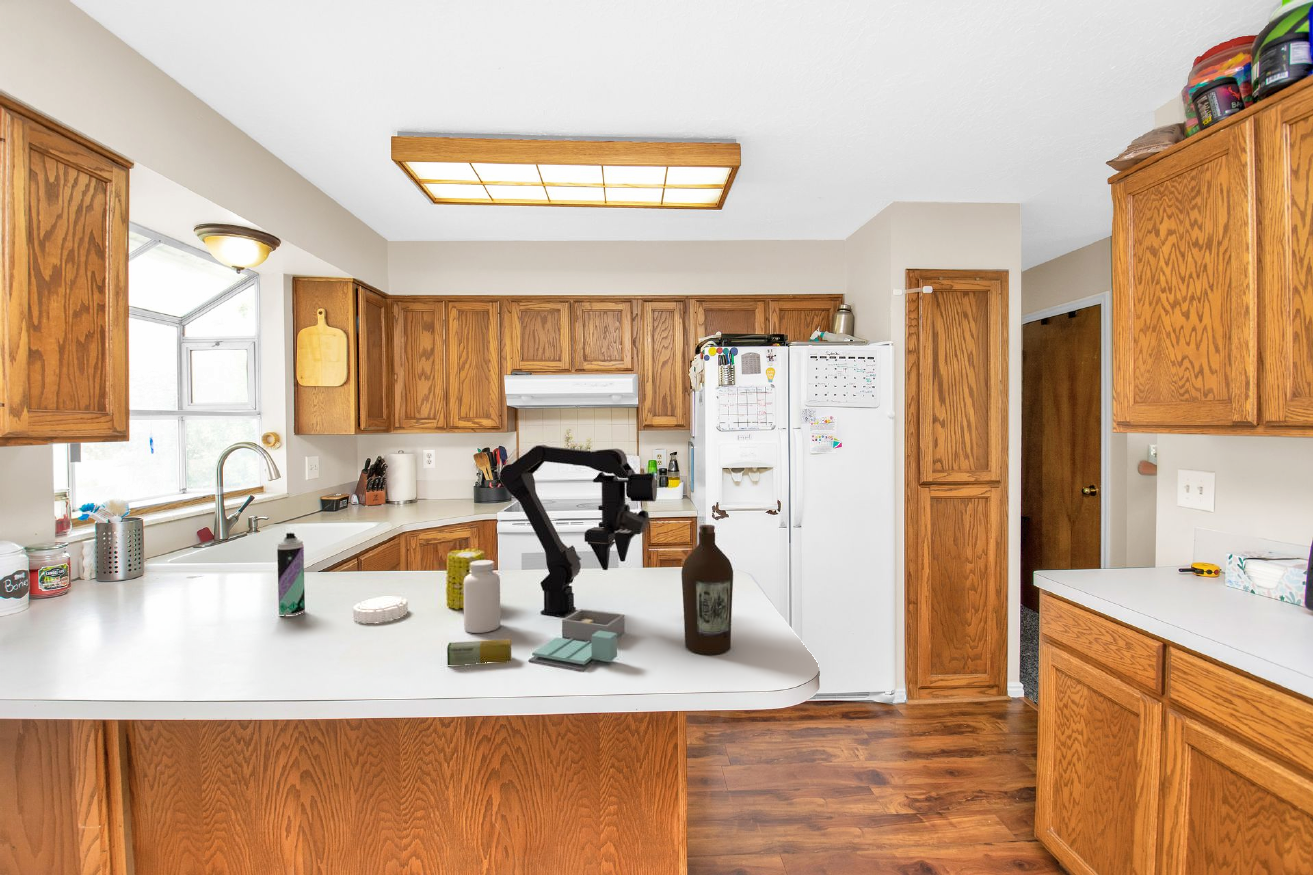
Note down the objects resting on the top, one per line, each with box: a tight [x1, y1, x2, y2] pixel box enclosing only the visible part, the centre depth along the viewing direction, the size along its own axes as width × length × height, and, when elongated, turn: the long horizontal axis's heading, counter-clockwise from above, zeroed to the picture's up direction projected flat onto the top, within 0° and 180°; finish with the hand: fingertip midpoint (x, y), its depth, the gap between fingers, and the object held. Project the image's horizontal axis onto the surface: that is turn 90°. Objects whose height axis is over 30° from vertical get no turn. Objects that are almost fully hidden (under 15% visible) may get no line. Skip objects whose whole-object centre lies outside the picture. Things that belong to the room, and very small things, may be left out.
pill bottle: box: [463, 559, 501, 634], centre depth 131 cm, size 8×8×15 cm
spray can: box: [276, 532, 306, 616], centre depth 143 cm, size 6×6×20 cm
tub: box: [561, 608, 626, 643], centre depth 126 cm, size 11×8×4 cm
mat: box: [528, 656, 597, 672], centre depth 115 cm, size 12×10×1 cm
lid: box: [531, 631, 618, 664], centre depth 114 cm, size 16×9×5 cm, turn 67°
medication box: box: [446, 638, 512, 666], centre depth 113 cm, size 12×3×4 cm, turn 100°
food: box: [445, 547, 486, 611], centre depth 148 cm, size 15×12×10 cm
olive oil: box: [681, 524, 734, 656], centre depth 119 cm, size 11×11×25 cm
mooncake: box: [352, 595, 409, 624], centre depth 141 cm, size 12×12×4 cm
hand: (614, 565), depth 140 cm, fingers open, 9 cm apart
